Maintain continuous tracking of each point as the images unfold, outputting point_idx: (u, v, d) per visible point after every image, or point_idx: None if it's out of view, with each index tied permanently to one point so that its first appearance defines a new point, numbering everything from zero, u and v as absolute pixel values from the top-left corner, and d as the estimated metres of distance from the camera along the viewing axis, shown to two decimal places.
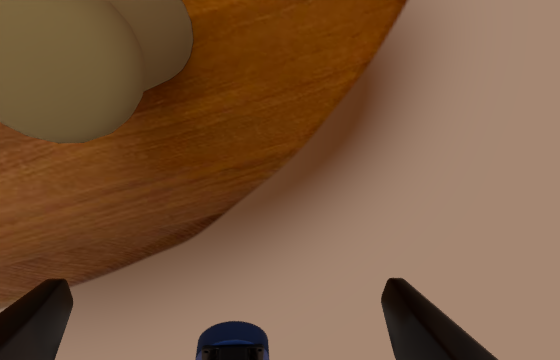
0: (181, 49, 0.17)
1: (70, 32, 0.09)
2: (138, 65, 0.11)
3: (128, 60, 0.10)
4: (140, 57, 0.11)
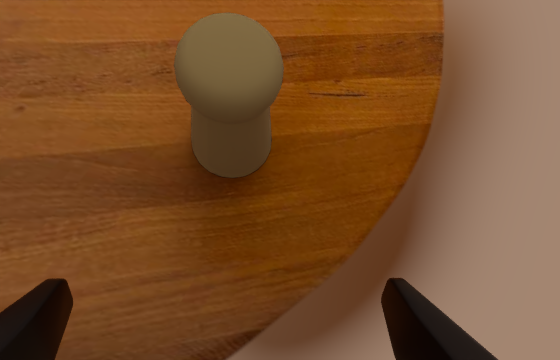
0: (268, 142, 0.23)
1: (262, 34, 0.15)
2: (282, 75, 0.16)
3: (282, 64, 0.16)
4: (282, 75, 0.16)
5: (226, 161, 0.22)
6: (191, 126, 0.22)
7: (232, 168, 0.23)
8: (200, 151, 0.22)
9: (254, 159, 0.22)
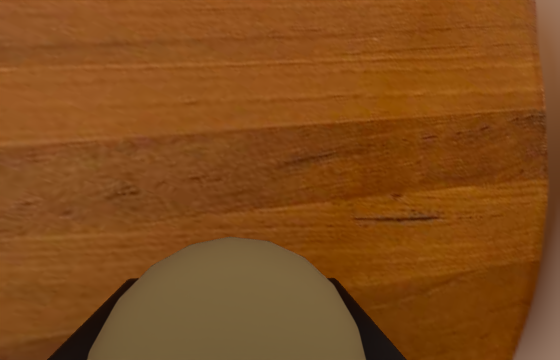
0: None
1: (323, 331, 0.05)
2: None
3: None
4: None
5: None
6: None
7: None
8: None
9: None
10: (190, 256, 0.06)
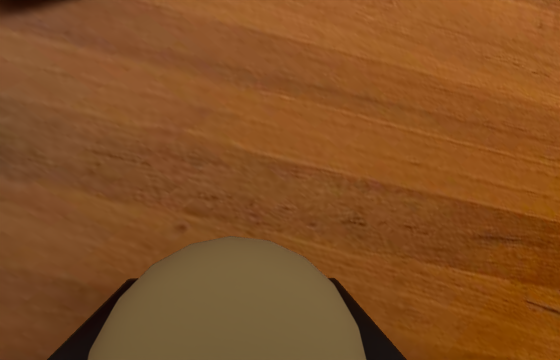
0: None
1: (324, 330, 0.05)
2: None
3: None
4: None
5: None
6: None
7: None
8: None
9: None
10: (190, 255, 0.06)
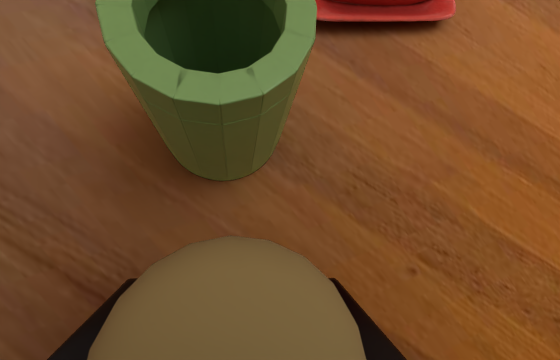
0: None
1: (323, 329, 0.05)
2: None
3: None
4: None
5: None
6: None
7: None
8: None
9: None
10: (190, 255, 0.06)
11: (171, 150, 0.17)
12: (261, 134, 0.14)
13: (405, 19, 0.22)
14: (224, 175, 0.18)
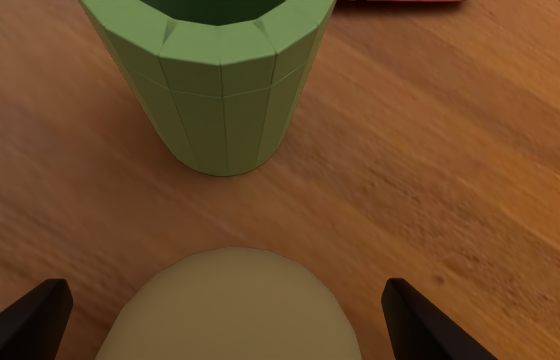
0: None
1: (322, 340, 0.06)
2: None
3: None
4: None
5: None
6: None
7: None
8: None
9: None
10: (193, 266, 0.06)
11: (164, 140, 0.15)
12: (270, 116, 0.11)
13: None
14: (225, 169, 0.16)
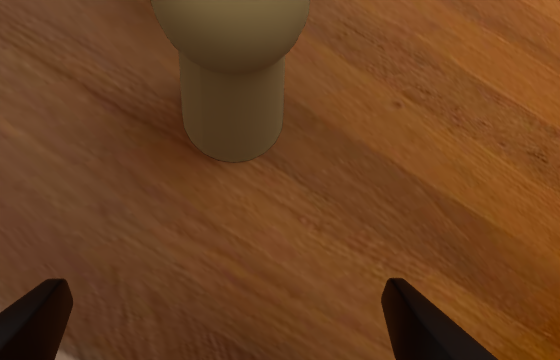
0: (280, 116, 0.18)
1: None
2: (309, 2, 0.11)
3: None
4: (307, 5, 0.11)
5: (226, 139, 0.16)
6: (181, 93, 0.17)
7: (234, 149, 0.17)
8: (192, 125, 0.17)
9: (262, 137, 0.17)
10: None
11: None
12: None
13: None
14: None
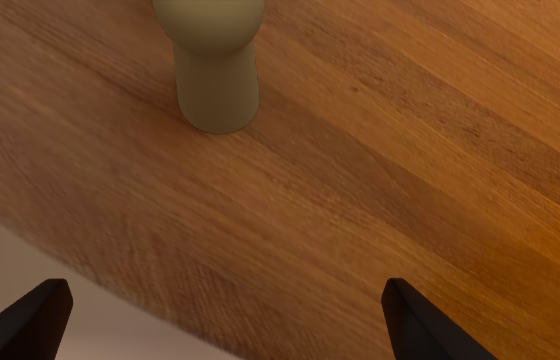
0: (254, 95, 0.22)
1: None
2: None
3: None
4: None
5: (211, 112, 0.21)
6: None
7: (217, 121, 0.22)
8: (184, 102, 0.21)
9: (240, 112, 0.22)
10: None
11: None
12: None
13: None
14: None
